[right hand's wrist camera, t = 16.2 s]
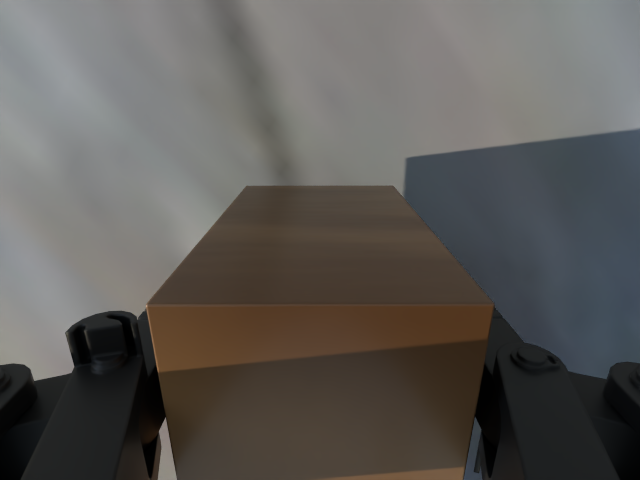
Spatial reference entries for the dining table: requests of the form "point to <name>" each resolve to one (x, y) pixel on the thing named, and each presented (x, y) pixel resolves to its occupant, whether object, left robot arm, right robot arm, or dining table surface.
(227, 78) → the dining table surface
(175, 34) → the dining table surface
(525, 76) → the dining table surface
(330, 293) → the bar
